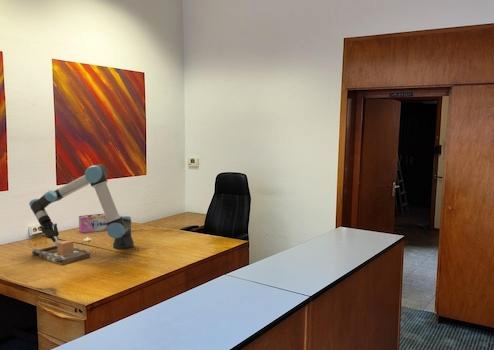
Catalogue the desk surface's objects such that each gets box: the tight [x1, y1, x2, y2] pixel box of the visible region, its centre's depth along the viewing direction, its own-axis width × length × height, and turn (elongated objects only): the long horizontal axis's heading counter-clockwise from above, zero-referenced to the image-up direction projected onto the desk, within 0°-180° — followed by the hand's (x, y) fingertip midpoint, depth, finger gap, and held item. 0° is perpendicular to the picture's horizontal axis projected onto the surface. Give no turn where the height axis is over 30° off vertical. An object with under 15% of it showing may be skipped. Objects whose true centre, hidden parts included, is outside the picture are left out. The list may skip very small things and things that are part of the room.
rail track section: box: [31, 245, 91, 265], centre depth 296 cm, size 36×20×4 cm, turn 57°
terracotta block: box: [57, 239, 74, 255], centre depth 292 cm, size 6×8×8 cm
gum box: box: [78, 213, 108, 234], centre depth 372 cm, size 24×8×14 cm, turn 125°
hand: (58, 244), depth 296 cm, fingers closed
